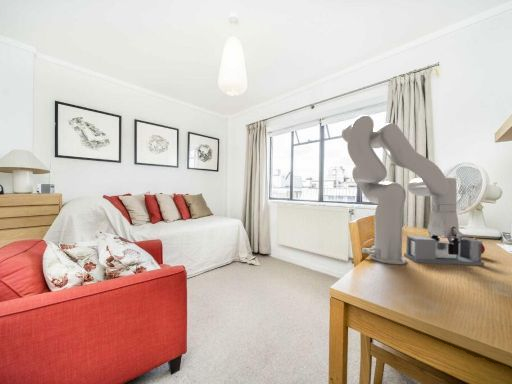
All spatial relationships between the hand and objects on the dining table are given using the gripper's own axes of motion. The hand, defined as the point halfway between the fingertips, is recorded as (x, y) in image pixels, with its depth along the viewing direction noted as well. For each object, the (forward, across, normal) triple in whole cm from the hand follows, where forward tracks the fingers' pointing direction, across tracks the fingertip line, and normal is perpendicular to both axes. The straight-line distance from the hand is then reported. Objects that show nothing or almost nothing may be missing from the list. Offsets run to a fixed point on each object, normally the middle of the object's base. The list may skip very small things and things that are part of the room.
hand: (443, 250), depth 86 cm
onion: (+5, -8, +18) cm, 20 cm away
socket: (+3, 0, +9) cm, 10 cm away
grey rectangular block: (+3, 0, -4) cm, 5 cm away
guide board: (+4, 0, -1) cm, 4 cm away
